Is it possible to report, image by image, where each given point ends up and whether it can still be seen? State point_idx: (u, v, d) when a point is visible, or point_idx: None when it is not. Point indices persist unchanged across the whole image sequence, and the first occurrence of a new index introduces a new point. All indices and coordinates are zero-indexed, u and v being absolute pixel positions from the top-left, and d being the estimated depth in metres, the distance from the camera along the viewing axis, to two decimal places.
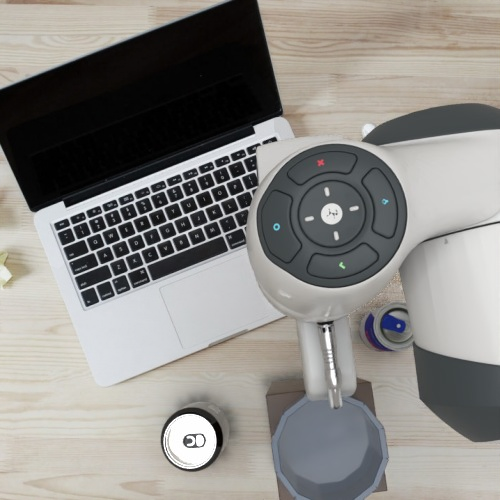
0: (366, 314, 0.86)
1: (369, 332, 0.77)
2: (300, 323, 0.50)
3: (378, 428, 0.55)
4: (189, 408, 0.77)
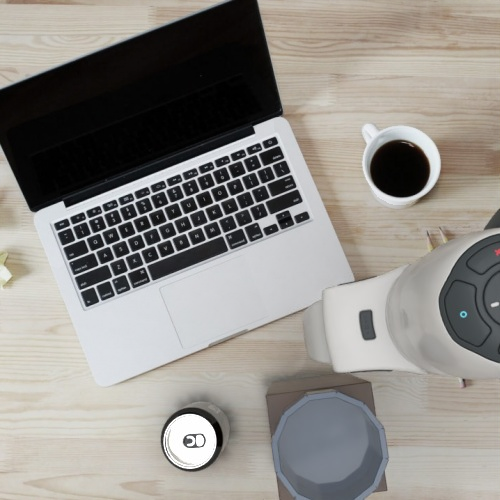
0: None
1: None
2: None
3: (378, 428, 0.55)
4: (189, 408, 0.77)
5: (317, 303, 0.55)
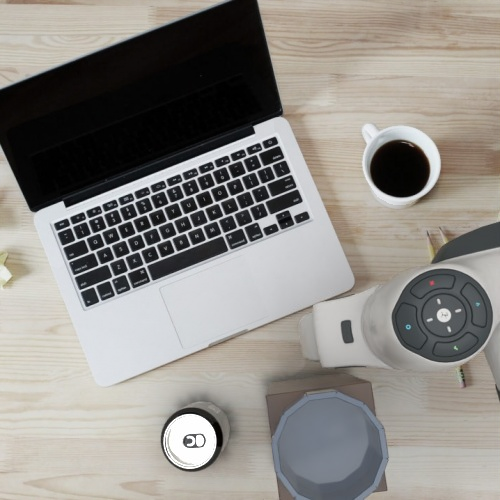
0: None
1: None
2: None
3: (378, 428, 0.55)
4: (189, 408, 0.77)
5: (309, 314, 0.71)
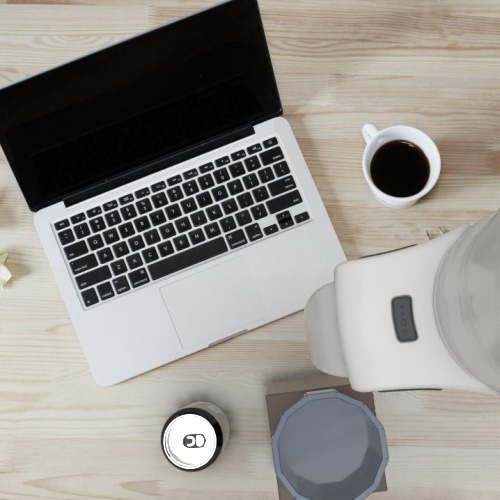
0: None
1: None
2: None
3: (378, 428, 0.55)
4: (189, 408, 0.77)
5: (326, 287, 0.37)
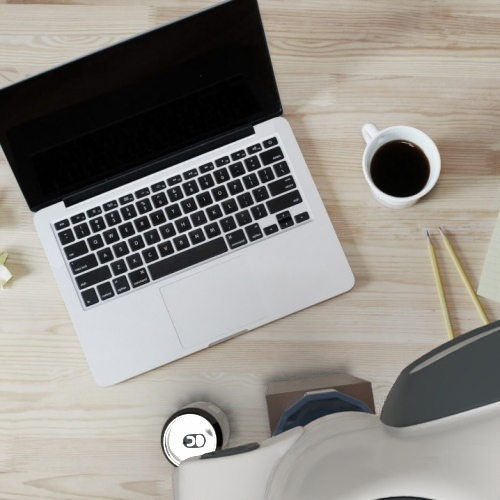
0: None
1: None
2: None
3: None
4: (189, 408, 0.77)
5: None
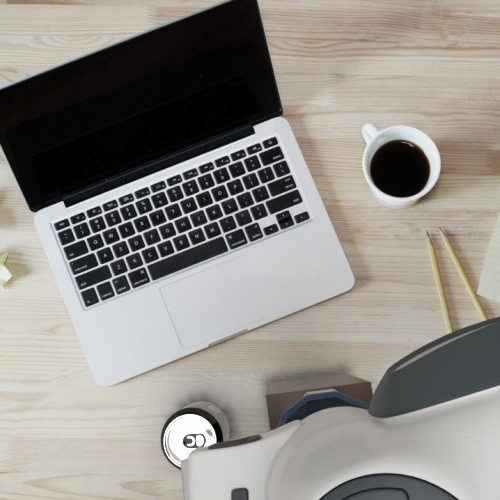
0: None
1: None
2: None
3: None
4: (189, 408, 0.77)
5: (188, 462, 0.42)
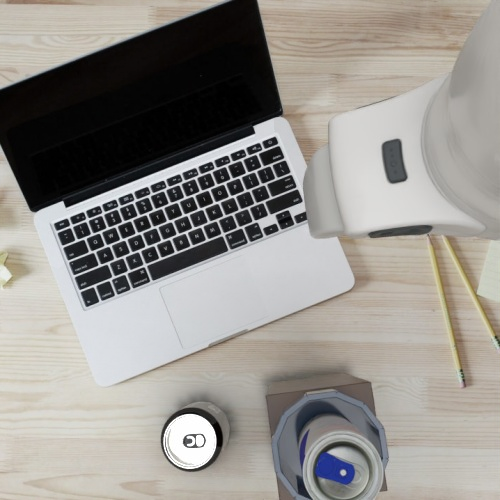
0: (308, 421, 0.58)
1: None
2: None
3: (378, 428, 0.55)
4: (189, 408, 0.77)
5: (322, 148, 0.39)
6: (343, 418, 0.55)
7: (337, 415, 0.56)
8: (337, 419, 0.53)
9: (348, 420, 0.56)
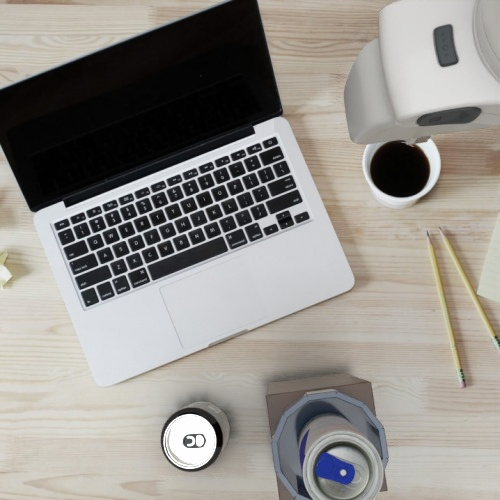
0: (308, 421, 0.58)
1: None
2: None
3: (378, 428, 0.55)
4: (189, 408, 0.77)
5: (369, 43, 0.40)
6: (343, 418, 0.55)
7: (337, 415, 0.56)
8: (337, 419, 0.53)
9: (348, 420, 0.56)
